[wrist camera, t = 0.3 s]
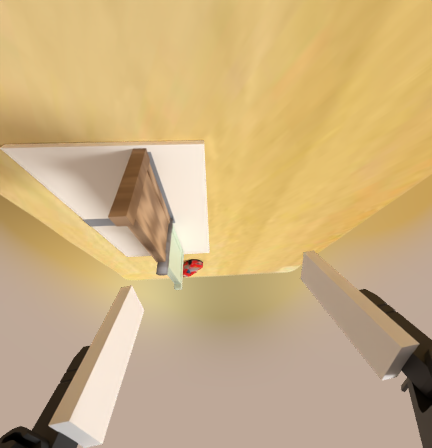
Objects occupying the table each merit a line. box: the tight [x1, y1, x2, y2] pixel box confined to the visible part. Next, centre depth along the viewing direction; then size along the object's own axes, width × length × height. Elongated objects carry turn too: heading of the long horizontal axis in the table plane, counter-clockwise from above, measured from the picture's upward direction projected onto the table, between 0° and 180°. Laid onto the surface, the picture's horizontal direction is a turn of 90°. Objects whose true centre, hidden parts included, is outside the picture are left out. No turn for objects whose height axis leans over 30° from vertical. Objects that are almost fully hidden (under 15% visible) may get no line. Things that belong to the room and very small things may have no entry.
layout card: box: [0, 140, 209, 257], centre depth 34 cm, size 34×24×1 cm
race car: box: [183, 260, 203, 277], centre depth 58 cm, size 13×5×4 cm, turn 131°
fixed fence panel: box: [108, 148, 173, 275], centre depth 24 cm, size 16×2×11 cm, turn 179°
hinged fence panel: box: [167, 225, 184, 290], centre depth 38 cm, size 14×2×10 cm, turn 179°
